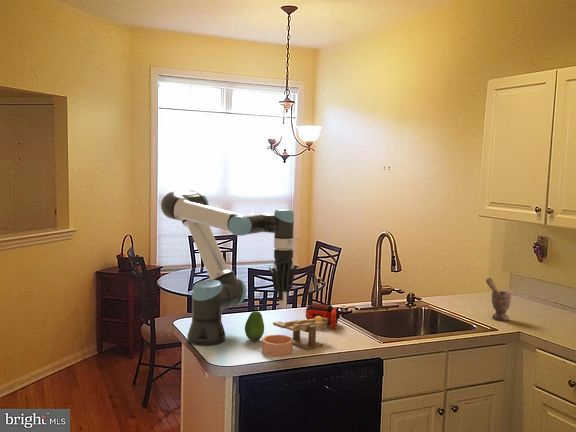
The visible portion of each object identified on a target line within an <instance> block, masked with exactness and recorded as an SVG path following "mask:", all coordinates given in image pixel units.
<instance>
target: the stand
mask: <svg viewBox="0 0 576 432" xmlns="http://www.w3.org/2000/svg"><path fill="white" fill-rule="evenodd" d="M294 321H299V319H295V320H294ZM316 333H317V329H316V326H315V325H311V326H309V332H308V338H306V337H303V336H302V335H301V331H292V337H291V338H292V339H293V346H295V347H299V348H301V349H303V350H306V351H309V350H314V349H317V348H321V347H323V346H324V344H323V343H320V342H318V341H316V338H317V334H316Z"/></svg>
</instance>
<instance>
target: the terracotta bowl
mask: <svg viewBox="0 0 576 432" xmlns="http://www.w3.org/2000/svg"><path fill="white" fill-rule="evenodd" d="M262 337H263V338H262ZM262 337H261V352H262V354H264V355H266V356H271V357H286V356H289V355H292V353H293V352H294V345H293V339H292V338H293V337H291V336H287V335H284V334H283V335H282V334H269V335H266V336H262Z"/></svg>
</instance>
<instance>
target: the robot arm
mask: <svg viewBox="0 0 576 432" xmlns="http://www.w3.org/2000/svg"><path fill="white" fill-rule="evenodd" d="M160 209H161V211H162V213H163V215H164V216H165V217H166V218H168V219H172V220H175V221H180V222H181V223H182V225H183V227H186V228H188V230H189V233H190V235H191V237H192V239H193V241H194V244H195V246H196V248H197V250H198V253H199V255H200V259H201V261H202V262H203V264H204V267H205V270H206V272H207V274H208V276H209V279H206V280H200V281H198V282H196V283H194V285H193V286H192V293H191V323H190V325H189V326H190V327H189V329H188V333H187V339H186V341H187V342H188V343H189V344H192V345H195V346H215V345H219V344H222V343H224V342H225V340H226V331H225V328H224V326H223V322H222V311H224V310H226V309H229V308H234V307H236V306H237V305H241V303H243V301H244V300H245V298H246V294H247V287H246V284H245V282H244V281H243V280H242V279H241V278H239V277H237V276H236V274H235V272H234V271H233V270H231V269H229V268H228V265H227V264H226V261H225V258H224V256H223V253H222V252H221V249H220V247H219V245H218V242H217V240H216V238H215V236H214V234H213V231H212V229H211V227H212V228H216V229H221V230H224V231H228V232H230V233H231V234H232V235H233V236H246V235H253V234H260V233H271V234H273V235H274V239H273V242H274V243H273V248H274V249H273V258H274V263H273V266H272V267H269V268H268V270H269V272H270V275H271V280H272V286H273V290H274V291H276V292H277V297H278V298H277V299H278V308H280V309H283V310H284V309H287V303H288V302H287V300H288V299H289V296H288V295H289V294H288V293H290V292H291V290H292V289H293V285H294V280H295V274H296V271H297V269H298V264H294V263H293V258H294V249H293V248H294V222H295V220H294V215H295V214H294V211H293V210H292V209H289V208H288V209H287V208H285V209H284V208H281V209H280V208H279V209H275V210H274V213H264V212H263V213H262V212H251V213H250V214H243V213H238V212H234V211H230V210H226V209H223V208H218V207H215V206H210V204H209V200H208V198H207V197H206V195H204V193H202V192H200V191H195V190H186V191H170V192H168V193H167V194H166V195H164V196H163V197H162V199H161V202H160Z"/></svg>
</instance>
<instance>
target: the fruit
mask: <svg viewBox="0 0 576 432" xmlns="http://www.w3.org/2000/svg"><path fill="white" fill-rule="evenodd" d="M244 331H245V335H246V338H247V339H248V340H249V341H252V342H257V341H259V340H261V339H262V337H263V335H264V332H265V323H264V319H263V315H262V314H261V312H260V311H257V310H255V311H251V313H250V314H249V316H248V318H247V319H246V322H245V325H244Z"/></svg>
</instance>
